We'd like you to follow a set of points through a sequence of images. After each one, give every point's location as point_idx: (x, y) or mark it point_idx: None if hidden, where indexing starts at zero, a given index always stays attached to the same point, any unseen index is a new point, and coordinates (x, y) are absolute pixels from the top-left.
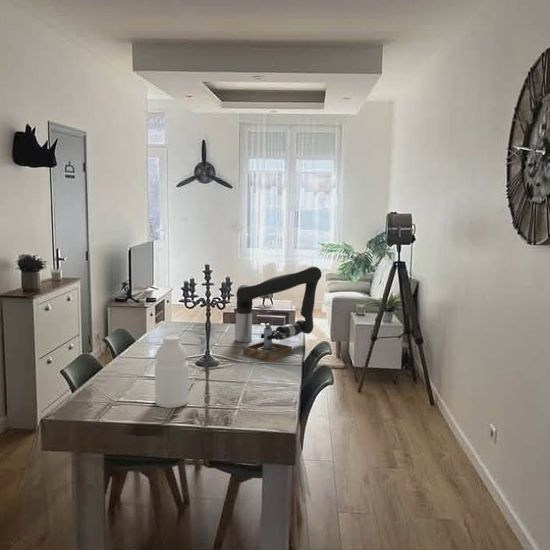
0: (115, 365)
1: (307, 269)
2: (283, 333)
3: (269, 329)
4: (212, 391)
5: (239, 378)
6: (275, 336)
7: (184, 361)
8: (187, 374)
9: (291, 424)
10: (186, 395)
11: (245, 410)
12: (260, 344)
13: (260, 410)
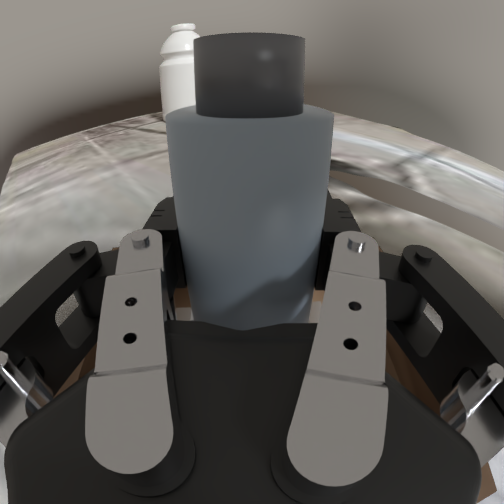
0: (400, 132)
1: None
2: (5, 468)
3: (192, 107)
4: (158, 135)
5: (145, 164)
6: (108, 257)
7: (164, 59)
8: (161, 79)
9: (14, 158)
10: (162, 108)
11: (75, 142)
12: (433, 407)
13: (55, 150)
